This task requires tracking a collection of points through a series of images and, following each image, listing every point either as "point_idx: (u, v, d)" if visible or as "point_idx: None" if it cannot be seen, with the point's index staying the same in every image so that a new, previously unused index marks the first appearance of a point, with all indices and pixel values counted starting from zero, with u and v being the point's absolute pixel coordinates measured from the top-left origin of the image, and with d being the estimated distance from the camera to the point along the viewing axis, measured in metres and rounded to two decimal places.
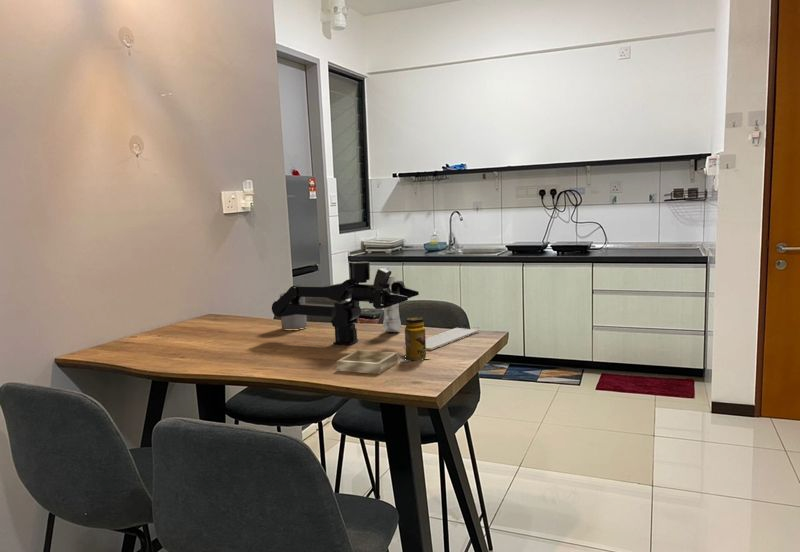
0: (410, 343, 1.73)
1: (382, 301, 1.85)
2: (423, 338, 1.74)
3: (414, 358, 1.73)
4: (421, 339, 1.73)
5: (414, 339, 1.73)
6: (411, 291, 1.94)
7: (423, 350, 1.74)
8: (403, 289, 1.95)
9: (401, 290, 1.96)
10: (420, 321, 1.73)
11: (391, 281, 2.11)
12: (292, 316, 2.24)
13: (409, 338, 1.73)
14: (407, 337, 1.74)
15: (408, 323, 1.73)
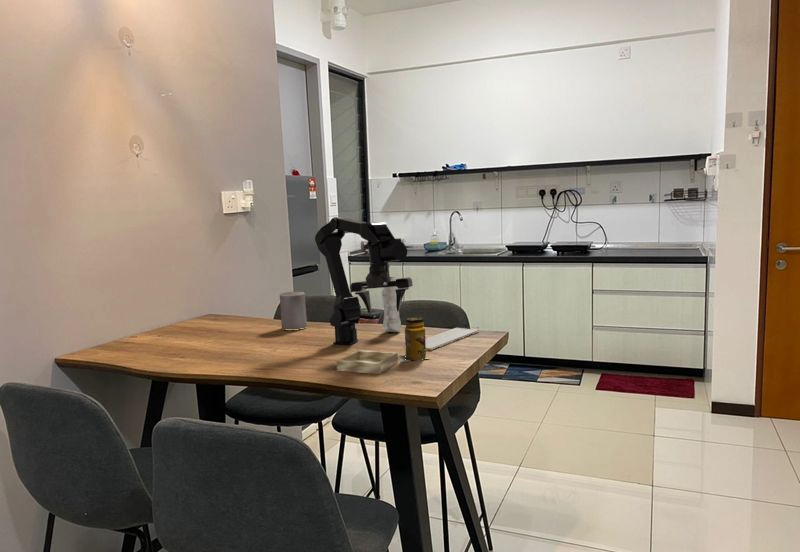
0: (410, 343, 1.73)
1: None
2: (423, 338, 1.74)
3: (414, 358, 1.73)
4: (421, 339, 1.73)
5: (414, 339, 1.73)
6: None
7: (423, 350, 1.74)
8: None
9: None
10: (420, 321, 1.73)
11: None
12: (292, 316, 2.24)
13: (409, 338, 1.73)
14: (407, 337, 1.74)
15: (408, 323, 1.73)
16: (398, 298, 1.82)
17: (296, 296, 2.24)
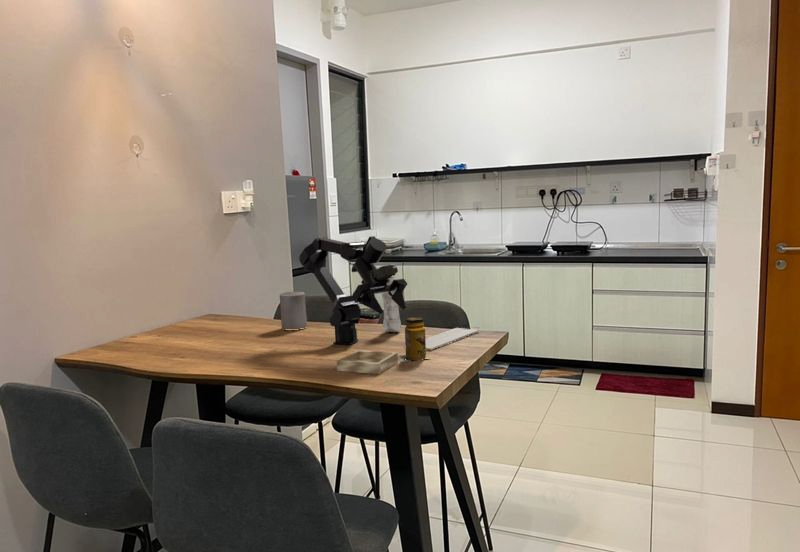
0: (410, 343, 1.73)
1: (361, 298, 1.79)
2: (423, 338, 1.74)
3: (414, 358, 1.73)
4: (421, 339, 1.73)
5: (414, 339, 1.73)
6: (401, 301, 1.84)
7: (423, 350, 1.74)
8: (398, 293, 1.86)
9: (396, 292, 1.86)
10: (420, 321, 1.73)
11: (391, 281, 2.11)
12: (292, 316, 2.24)
13: (409, 338, 1.73)
14: (407, 337, 1.74)
15: (408, 323, 1.73)
16: (401, 295, 1.85)
17: (296, 296, 2.24)
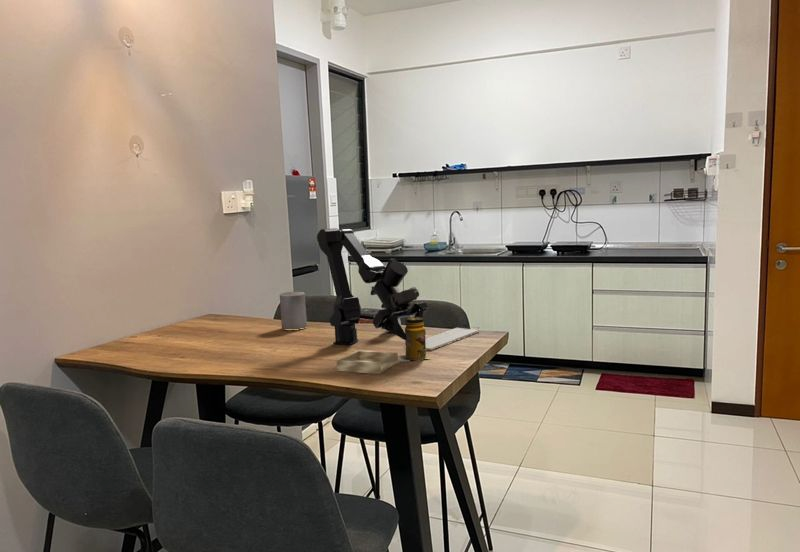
0: (410, 343, 1.73)
1: (383, 323, 1.73)
2: (423, 338, 1.74)
3: (414, 358, 1.73)
4: (421, 339, 1.73)
5: (414, 339, 1.73)
6: None
7: (423, 350, 1.74)
8: None
9: None
10: (420, 321, 1.73)
11: None
12: (292, 316, 2.24)
13: (409, 338, 1.73)
14: (407, 337, 1.74)
15: (408, 323, 1.73)
16: None
17: (296, 296, 2.24)
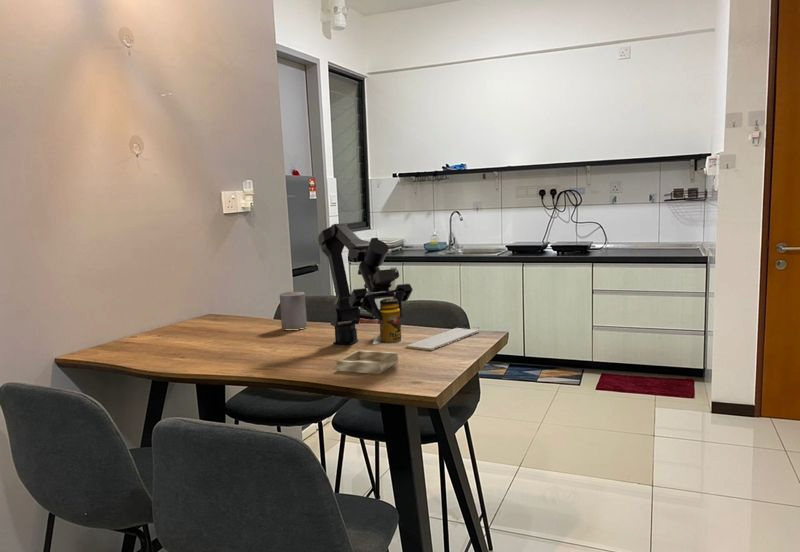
0: (382, 325, 1.68)
1: (361, 302, 1.70)
2: (396, 321, 1.68)
3: (386, 341, 1.68)
4: (394, 321, 1.67)
5: (386, 321, 1.67)
6: None
7: (396, 333, 1.68)
8: None
9: (395, 298, 1.74)
10: (392, 303, 1.67)
11: None
12: (292, 316, 2.24)
13: (381, 320, 1.68)
14: None
15: (381, 305, 1.68)
16: (399, 302, 1.72)
17: (296, 296, 2.24)
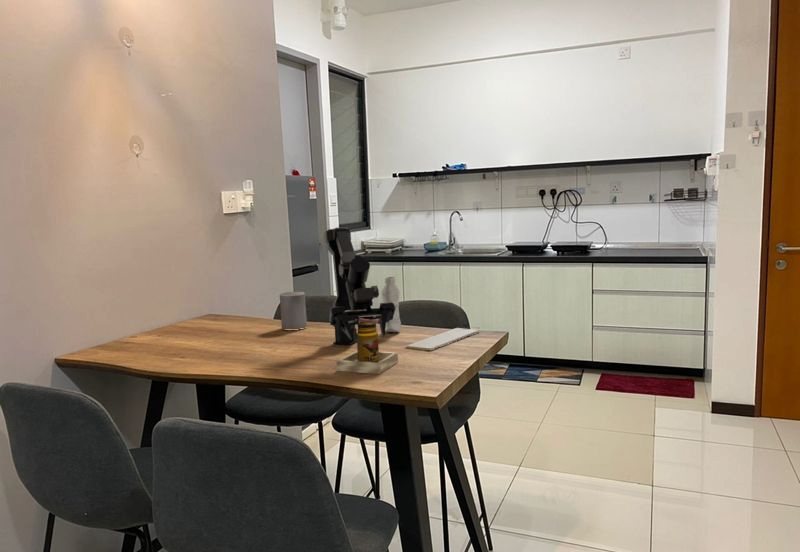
0: (358, 348, 1.66)
1: (335, 321, 1.69)
2: (372, 345, 1.65)
3: None
4: (369, 345, 1.65)
5: (361, 345, 1.65)
6: (382, 328, 1.69)
7: (371, 357, 1.65)
8: (381, 318, 1.70)
9: (381, 317, 1.71)
10: (368, 326, 1.65)
11: (391, 281, 2.11)
12: (292, 316, 2.24)
13: (357, 343, 1.66)
14: (357, 342, 1.67)
15: (358, 327, 1.66)
16: (384, 321, 1.69)
17: (296, 296, 2.24)
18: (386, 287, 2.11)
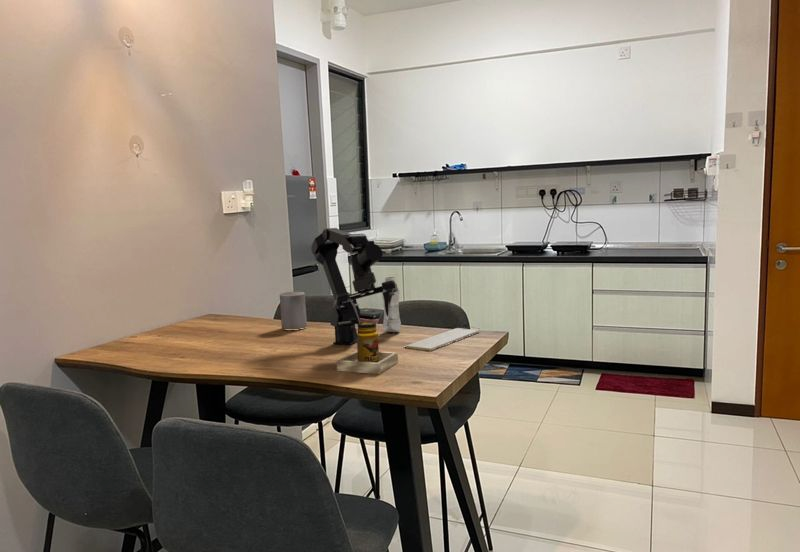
0: (358, 348, 1.66)
1: None
2: (372, 345, 1.65)
3: None
4: (369, 345, 1.65)
5: (361, 345, 1.65)
6: (385, 308, 1.81)
7: (371, 357, 1.65)
8: (384, 298, 1.82)
9: None
10: (368, 326, 1.65)
11: None
12: (292, 316, 2.24)
13: (357, 343, 1.66)
14: (357, 342, 1.67)
15: (358, 327, 1.66)
16: (386, 302, 1.81)
17: (296, 296, 2.24)
18: None
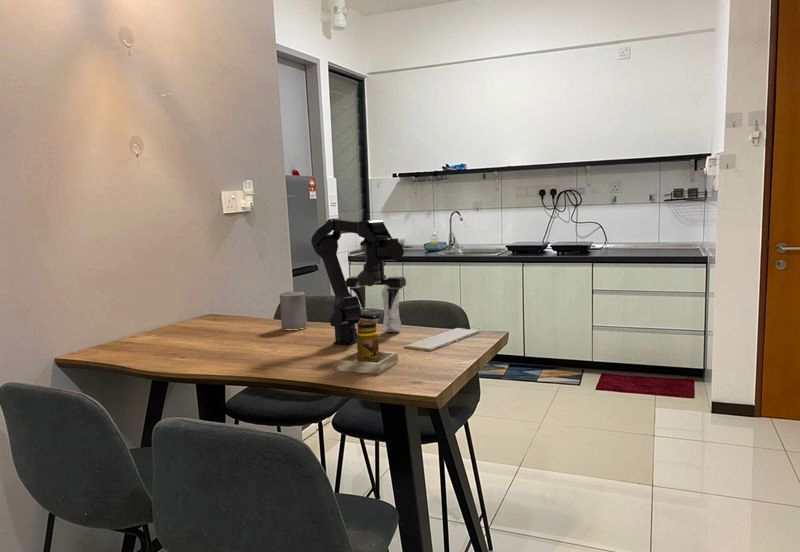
0: (358, 348, 1.66)
1: None
2: (372, 345, 1.65)
3: None
4: (369, 345, 1.65)
5: (361, 345, 1.65)
6: None
7: (371, 357, 1.65)
8: None
9: None
10: (368, 326, 1.65)
11: None
12: (292, 316, 2.24)
13: (357, 343, 1.66)
14: (357, 342, 1.67)
15: (358, 327, 1.66)
16: (390, 297, 1.84)
17: (296, 296, 2.24)
18: (386, 287, 2.11)
